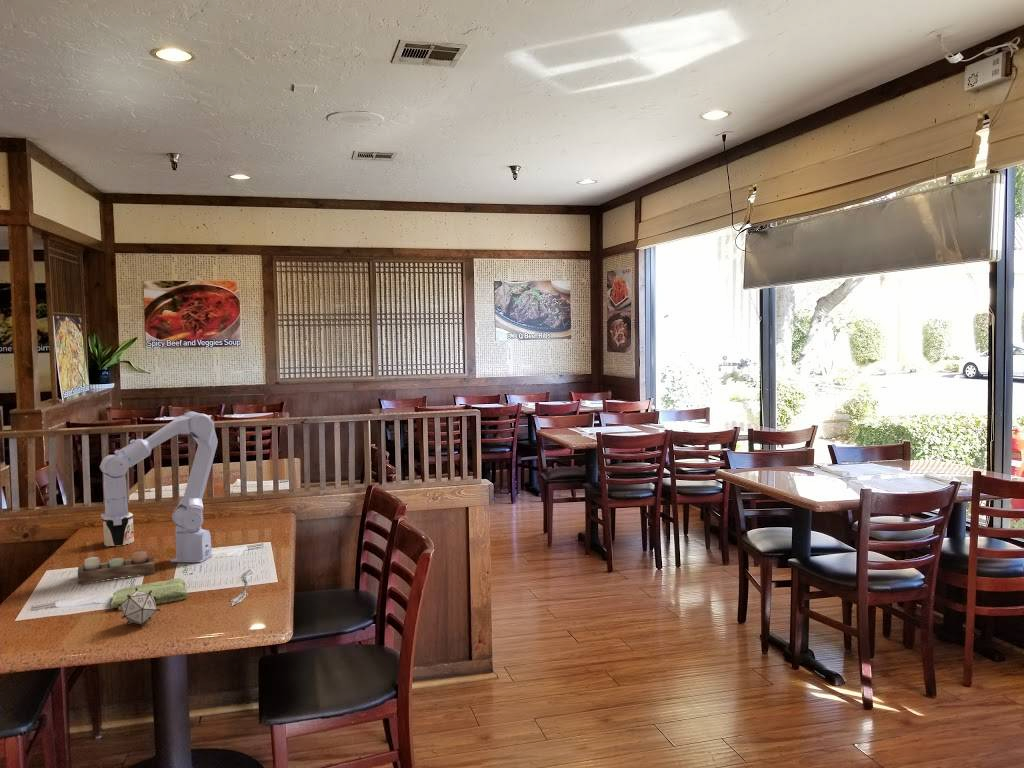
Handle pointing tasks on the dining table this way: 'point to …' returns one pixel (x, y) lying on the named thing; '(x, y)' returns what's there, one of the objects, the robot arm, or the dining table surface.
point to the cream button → (92, 563)
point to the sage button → (116, 562)
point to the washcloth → (154, 592)
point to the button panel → (115, 571)
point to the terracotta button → (139, 557)
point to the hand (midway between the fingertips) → (118, 544)
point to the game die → (139, 607)
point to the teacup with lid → (127, 535)
